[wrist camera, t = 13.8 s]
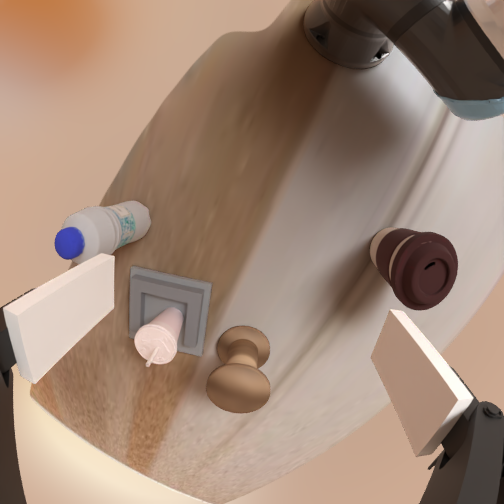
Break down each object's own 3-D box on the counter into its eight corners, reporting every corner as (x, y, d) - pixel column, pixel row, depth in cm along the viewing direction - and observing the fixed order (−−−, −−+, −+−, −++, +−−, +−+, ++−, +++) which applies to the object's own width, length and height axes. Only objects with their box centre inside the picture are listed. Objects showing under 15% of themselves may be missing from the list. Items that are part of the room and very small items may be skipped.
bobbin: (222, 321, 48) (209, 361, 36) (274, 330, 48) (276, 373, 36) (215, 362, 50) (203, 406, 38) (263, 371, 50) (262, 417, 38)
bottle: (158, 201, 44) (87, 219, 24) (152, 242, 45) (85, 284, 26) (122, 195, 44) (41, 209, 24) (117, 235, 45) (40, 269, 26)
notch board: (133, 265, 46) (125, 270, 43) (212, 282, 46) (209, 289, 43) (131, 335, 50) (125, 343, 47) (202, 353, 50) (199, 362, 47)
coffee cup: (406, 280, 45) (451, 317, 30) (355, 274, 45) (390, 314, 30) (419, 224, 42) (472, 243, 28) (367, 213, 43) (411, 230, 28)
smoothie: (186, 338, 48) (163, 388, 34) (152, 325, 48) (120, 371, 34) (195, 307, 46) (170, 354, 33) (159, 294, 46) (123, 335, 33)
